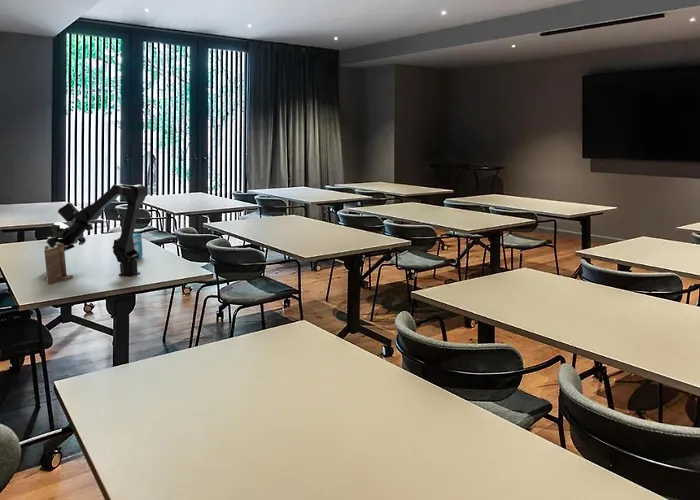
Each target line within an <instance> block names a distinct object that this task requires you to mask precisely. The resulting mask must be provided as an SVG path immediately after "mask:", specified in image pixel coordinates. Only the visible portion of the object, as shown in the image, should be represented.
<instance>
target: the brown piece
mask: <svg viewBox="0 0 700 500" xmlns="http://www.w3.org/2000/svg"><path fill="white" fill-rule="evenodd" d="M65 252H66V251H65ZM65 252H64V243H58V244H57V247H54V248H50V249H49V248H48V249H46V250H45V249H44V260H45V268H46V269H45V270H46V279H47V280H46V281H47V285H53V284H56V283H59V282H61V281H62V282H63V281H64V282H65V281H66V282H67V281H68V280H72V279H74V275H73V274H67V264H66V254H65Z"/></svg>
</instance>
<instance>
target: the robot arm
mask: <svg viewBox="0 0 700 500" xmlns="http://www.w3.org/2000/svg"><path fill="white" fill-rule="evenodd" d="M147 195H148V189H147V188H146V186H145V185H143V184H135V185H131V184H123V183H116V184H113V185H112V186H111V187H110V188H109V189H108V190H107V191H105V193H104V194H102V195H101V196H100V197H99V198H98V199H97V200H96V201H94V202H93V203H91V204H89V205H87V206H85V207H84V208H82V209H80V210H78V209H77V208H76V206H74V203H72V202H67V203H66V204H65V205H63V206H62V207H60V208H58V210H57V213H58V214H59V215H60V216H61V217H62V219H64V221H66V222H67V223H72V224H70V226H69V225H67V224H66V223H64V222H60V221H59V222H54V223H53V224H52V225H50V230H51V231H52V232H55V233H57V234H59V235H58V236H59V237H60V238H59V237H57V236H53V237H52V236H51V238H49V239H48V238H47V240H46V244H47V243H48V244H49V245H50V246H51V247H52V248H54V246H56V242H59V243H64V252H67V251H68V250H71V249H73V248H75V247H76V246H75V244H77V243H78V246H83V245H84V244H85V243H86V241H87V240H86V238H85V237H84V232H86V231H88V232H89V231H93V230H94V227H93V224H92V223H90V222H93V221H96V220H99V217H101V215H102V214H103V211H104V210H105V209H106V207H108V206H109V205H110V204H111V203H113V202H114V201H115V200H116V199H117V198H119V196H122V197H125V201H126V204H127V206H126V211H125V215H124V220H123V223H122V229H121V233H120V236H119V238H115V239H114V240H113V244H112V247H111V248H112V252H113V255H114V256H115V257H116V260H117V263H119V269H120V273H118V276H122V277H124V276H125V277H132V276H133V277H134V276H136V275H139V274H141V271H138V261H137V260H136V259H138V260H140V259H139V255H140V254H139V253H138V252H137V251H136V250H135V249H134V241H133V234H135V228H136V224H137V220H138V216H139V212H140V211H139V210H140V207H141V206H142V204H143V202H145V200H146V197H147ZM48 244H47V245H48Z"/></svg>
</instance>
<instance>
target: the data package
mask: <svg viewBox="0 0 700 500" xmlns="http://www.w3.org/2000/svg"><path fill="white" fill-rule="evenodd" d="M133 241H134V249H135V250H136V251H137V252H138V253H139V254H140V255H139V259H136V260H140V259H142V258H143V255H144V254H143V241H142V234H141V233H133Z"/></svg>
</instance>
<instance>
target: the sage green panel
mask: <svg viewBox="0 0 700 500" xmlns="http://www.w3.org/2000/svg"><path fill="white" fill-rule="evenodd" d="M49 238H52V236H47V240H48V239H49ZM58 243H59V242H56V246H54V247H57V244H58ZM46 244H47V245H44V250H46V249H50V248H52V247H51V246H50V245H49V244H48V243H47V242H46Z"/></svg>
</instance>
